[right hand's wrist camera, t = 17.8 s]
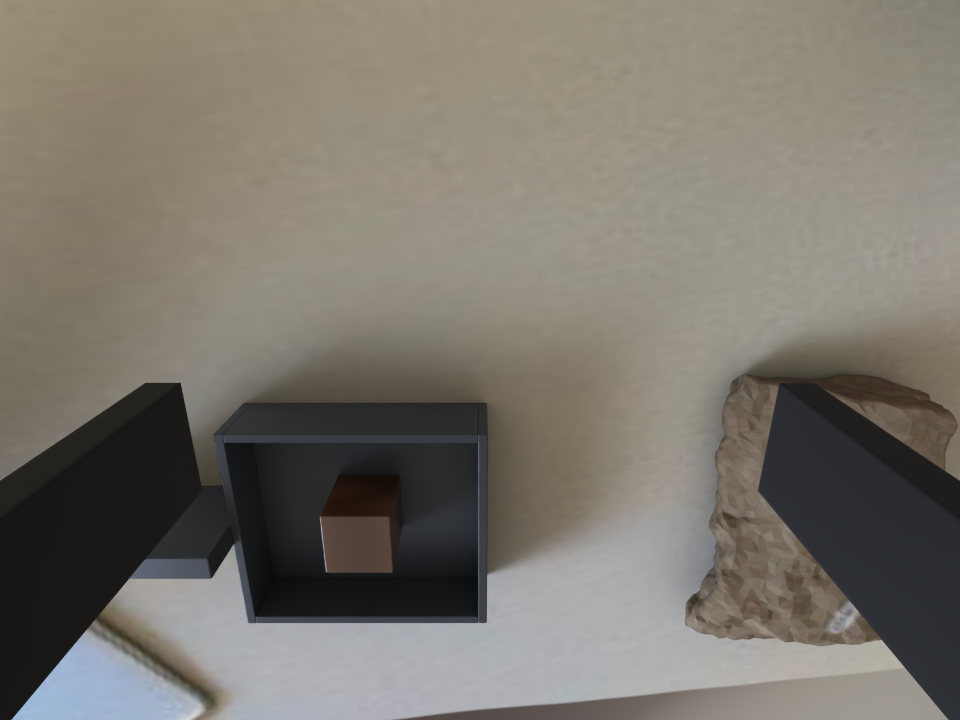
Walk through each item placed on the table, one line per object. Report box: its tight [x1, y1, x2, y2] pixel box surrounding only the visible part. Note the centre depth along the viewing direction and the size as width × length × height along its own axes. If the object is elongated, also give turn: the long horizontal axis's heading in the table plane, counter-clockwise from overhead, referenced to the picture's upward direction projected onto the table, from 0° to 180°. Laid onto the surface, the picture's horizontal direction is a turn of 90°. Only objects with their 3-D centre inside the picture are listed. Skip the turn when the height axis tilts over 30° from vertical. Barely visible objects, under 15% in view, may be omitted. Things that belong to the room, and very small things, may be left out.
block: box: [320, 475, 403, 573], centre depth 39 cm, size 4×4×5 cm
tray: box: [129, 403, 488, 623], centre depth 38 cm, size 27×15×8 cm, turn 90°
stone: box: [685, 374, 958, 646], centre depth 39 cm, size 21×15×6 cm
